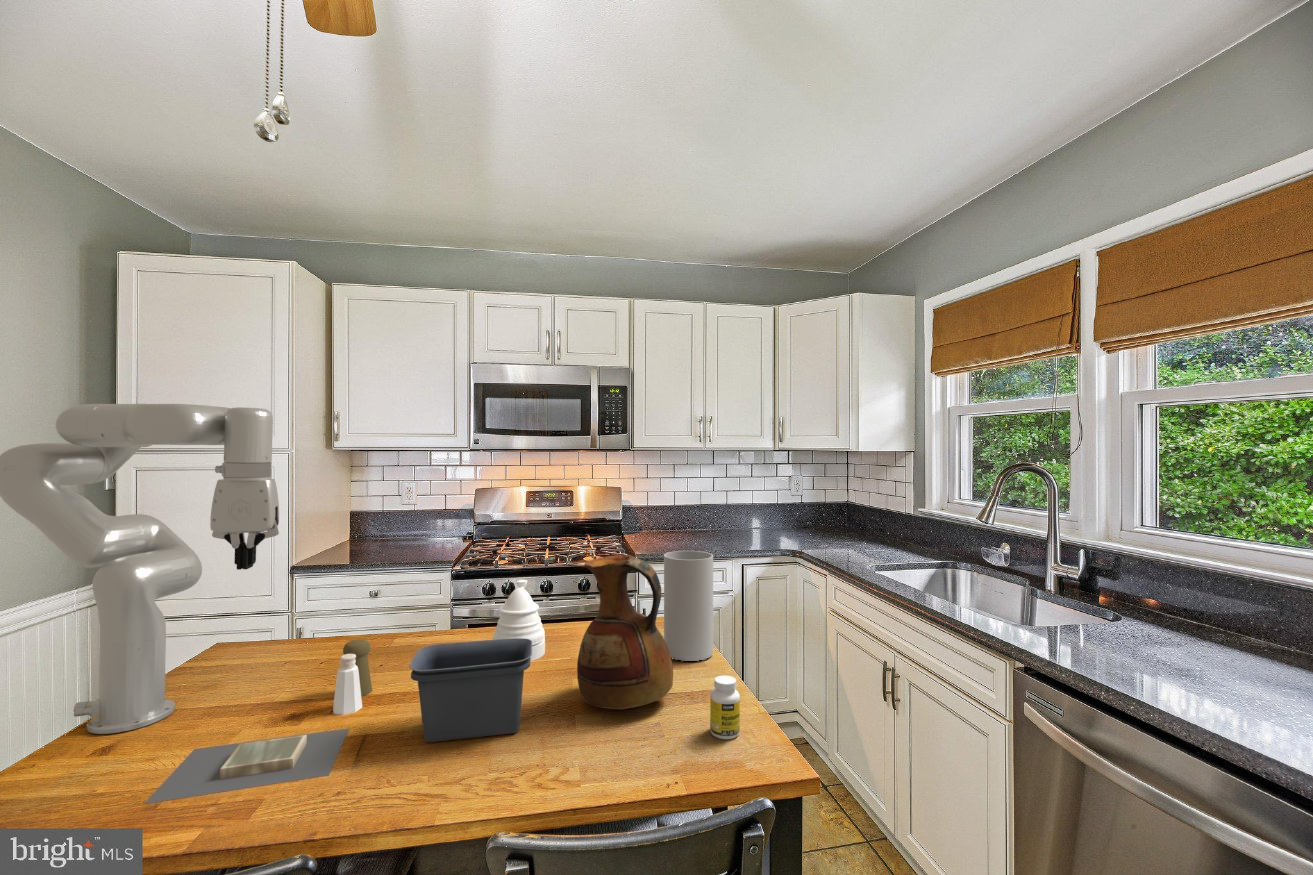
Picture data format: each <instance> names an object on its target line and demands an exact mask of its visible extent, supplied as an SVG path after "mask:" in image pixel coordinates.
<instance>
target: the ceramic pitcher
mask: <svg viewBox="0 0 1313 875" xmlns="http://www.w3.org/2000/svg"><path fill="white" fill-rule="evenodd" d="M584 567H586V569H587V570H589V571H590V572H591V573H592V575H593V576H594V577H595V580H596V583H597V589H598V593H599V609H598V614H597V615H596V617H595V618H594V619H593V620H592V621H591V622H590V623H589V625H588V626H587V629H586V630H585V632H584V635H583V636H582V639H581V643H580V647H579V652H578V656H577V664H576V666H577V667H576V669H577V670H576V672H577V673H576V676H577V683H578V684H577V685H578V690H579V693H580V695H581V697H582V699H583V701H585V703H587V704H589V705H590V706H592V707H596V708H601V709H612V710H613V709H615V710H626V709H630V708H632V709H633V708H636V707H641V706H645V705H648V704H651V703H653V702H658V701H661V699H663V698H664V697H665V696H667V695H668V693H670V691H671V690H672V688H673V686H674V666H673V661H672V659H671V656H670V652H669V649H668V647H667V644H666V642H665V640H664V636H663V635H662V633H661V632H660V630H659V629H658V627H657V625H656V624H657V623H656V621H657V616H658V613H659V608H660V604H661V602H662V601H661V599H662V586H661V582H660V579H659V575H658V573H657V572H656V570H655V569H654V568H653V567H652V566H651V565H650V564H649V563H648V562H646V561H645V560H643V559H641V558H637V557H635V556H634V555H630V554H625V555H621V554H617V555H608V556H601V557H599V558H594V559H589V560H587V561H585V562H584ZM630 570H633V571H636V572H638V573H639V574H640V575H642V576H643V577H644V579H646V580H647V582H648V584H649V585H650V589H651V592H652V605H651V610H650V612H649V614H648V615H645V614H643V613H640V612H639V611H637V609H635V608H634V606H633V604H632V601H631V600H630V595H629V592H628V591H629V590H628V581H627V580H628V574H629V571H630Z"/></svg>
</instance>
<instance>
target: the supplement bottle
mask: <svg viewBox="0 0 1313 875" xmlns="http://www.w3.org/2000/svg"><path fill="white" fill-rule="evenodd" d="M713 684H714V688H713V689H712V691H710V698H709V700H710V704H709V705H710V710H709V712H710V715H709V717H710V719H709V720H710V721H709V723H710V724H709V731H710V733H711V735H712V736H714V737H715V738H718V739H719V740H732V739H734V738H737V737H738V736H739V735H740V729H741V724H740V722H741V720H740V719H741V718H740V717H741V713H740V712H741V695H740V693H739V691H738V690H737V678H735V677H734V676H731V675H719V676H716V677H714V682H713Z"/></svg>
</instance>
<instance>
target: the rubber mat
mask: <svg viewBox="0 0 1313 875" xmlns="http://www.w3.org/2000/svg"><path fill="white" fill-rule="evenodd" d="M349 731H350V727H348V728H340V729H333V730H325V731H317V732H310V733H303V734H302V733H301V734H297V735H289V736H281V737H273V738H266V739H260V740H259V739H258V740H252V741H245V742H237V743H231V744H230V743H229V744H222V745H214V746H208V747H200V748H194V749H193V750H192V751H191V752H190V753H189V754H188V756H187V757H186V758H185V759H184V760H183V761H182V762H181V763H180V764H179V765H178V766H177V768H175V770H173V772H172V773H171V774H170V775H169V776H168V777H167V778H166V779H165V781H163V783H162V784H161V785H160V786H159V787H158V788H157V789H156V790H155V791H154V792H153V793H152V794H151V796H150V797H149V798H148V799H147V800H146V801H145V802H144V803H143V805H148V804H150V805H151V804H155V803H160V802H168V801H175V800H182V799H187V798H193V797H199V796H207V795H212V794H213V795H214V794H221V793H227V792H231V791H232V792H233V791H239V790H246V789H251V788H258V787H264V786H272V785H278V784H283V783H285V784H286V783H289V782H296V781H304V780H310V779H315V778H316V779H317V778H321V777H327V776H330V774H331V771H332V770H333V768H334V767H333V766H335V765H334V764H335V763H336V760H337V758H338V755H339V753H340V750H341V749H342V746H343V744H344V742H345V740H346V737H347V735H348V733H349ZM301 735H307V744H306V746H305V748H304V750H303V751H302V753H301V755H300V757H299V758H298V760H297V762H296V764H295V766H294V767H293V768H292V769H285V770H278V771H272V772H265V773H258V774H252V775H245V776H238V777H232V778H225V779H220V768H221V767H222V766H223V765H224V763H225V762H226V761H227V760H228V758H229V757H230V756H231V754H232V753H233V752H234V751H235V749H236V748H237V747H238V746H239V744H242V743H249V742H257V741H264V740H272V739H279V738H286V737H294V736H301Z"/></svg>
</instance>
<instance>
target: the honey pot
mask: <svg viewBox="0 0 1313 875" xmlns="http://www.w3.org/2000/svg"><path fill="white" fill-rule="evenodd" d="M516 582H517V586H518V587H517V588H515V589H514V590H513V591H512V592H511V593H510V595H509V596H508V597H507V599H506V601H505V603H504V604H503V605H500V607H498V612H499V614H500V616H499V618H498V620H497V625H496V627H495V631H494V632H493V639H492V640H497V639H510V638H524V639H529V640H531V641H532V655H531V659H530V662H533V661H536V660H538V659H540V658H541V657H544V655H545V654H546V653H545V652H546V639H545V638H546V637H545V635H546V632H545V629H544V626H543V623H542V620H541V617H540V615H539V613H538V612H539V609H540V607H539V604H538V603H536V602H534V600H533V599H532V596H531V594H530V593H529V592H528V591H527V590H526V589H525V588H526V587H527V585H528V580H527V579H519V580H516Z"/></svg>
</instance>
